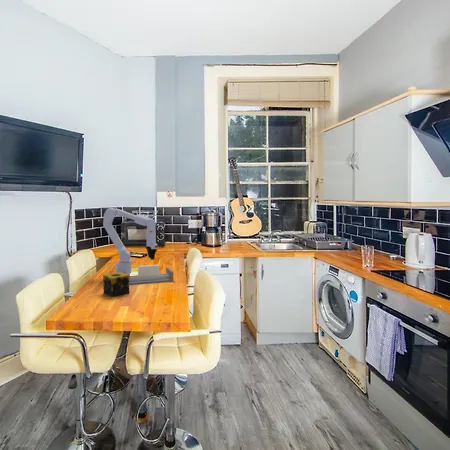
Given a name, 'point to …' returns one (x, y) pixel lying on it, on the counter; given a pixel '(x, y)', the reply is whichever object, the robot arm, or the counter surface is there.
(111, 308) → the counter surface
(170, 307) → the counter surface
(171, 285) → the counter surface
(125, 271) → the cabinet base
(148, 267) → the door panel
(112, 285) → the black and yellow cube
